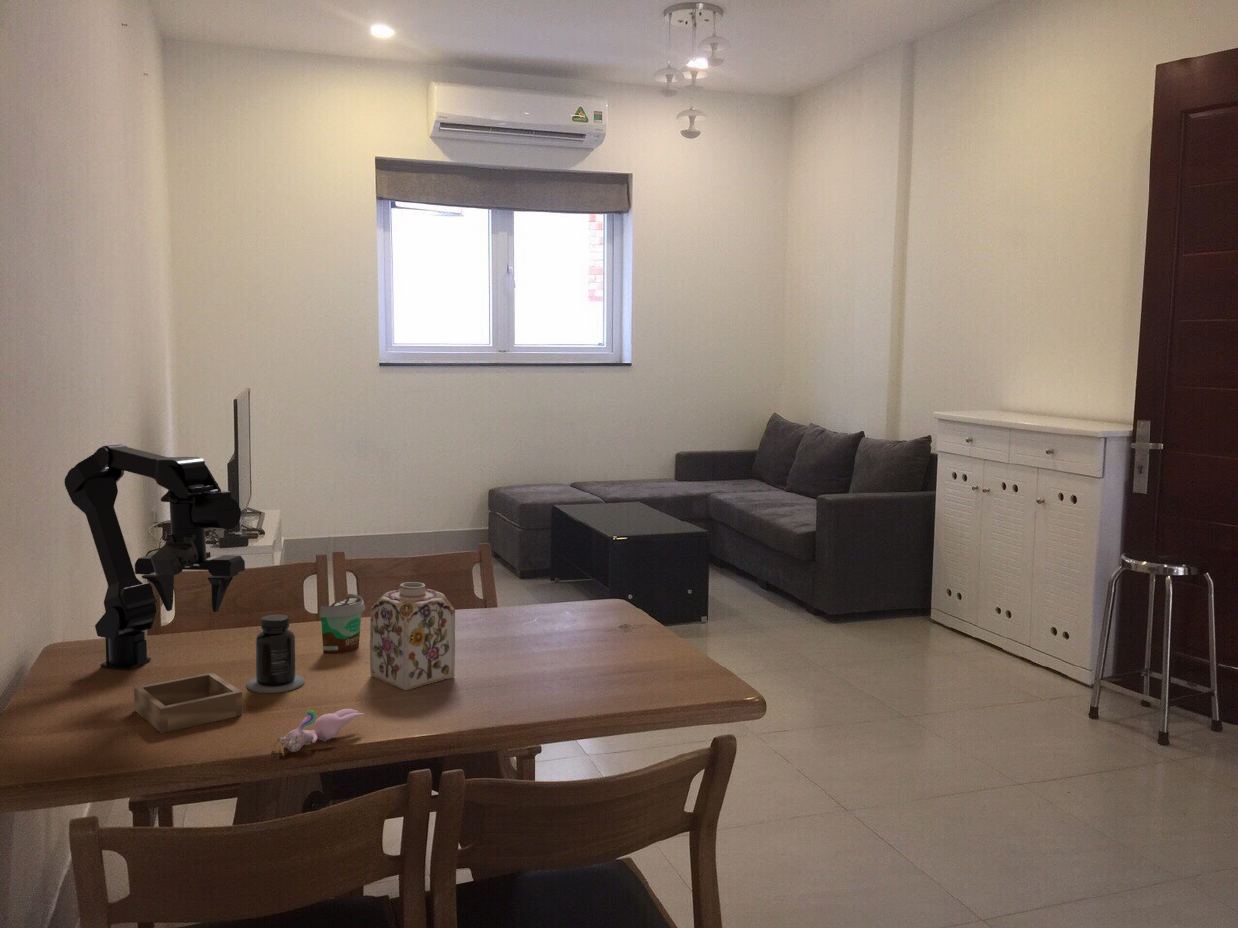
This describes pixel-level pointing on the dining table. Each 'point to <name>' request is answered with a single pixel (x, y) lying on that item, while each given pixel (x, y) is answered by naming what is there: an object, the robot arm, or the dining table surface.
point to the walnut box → (187, 702)
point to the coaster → (258, 688)
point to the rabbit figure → (316, 729)
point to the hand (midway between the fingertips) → (192, 611)
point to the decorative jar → (412, 637)
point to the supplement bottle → (275, 652)
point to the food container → (342, 625)
